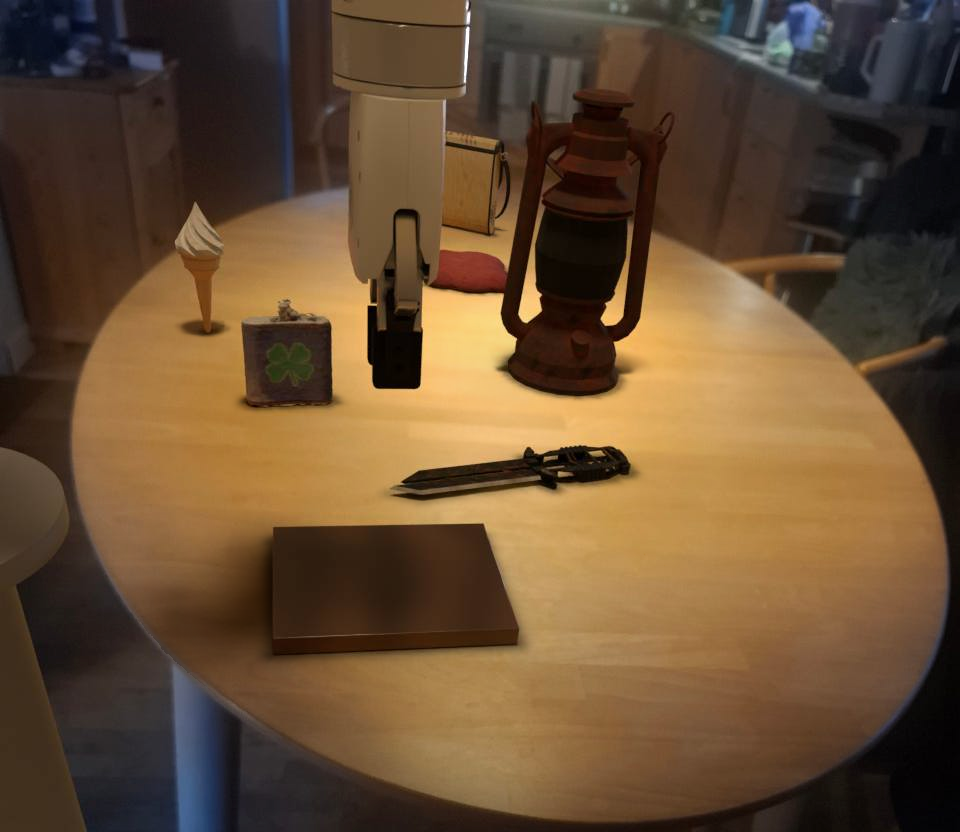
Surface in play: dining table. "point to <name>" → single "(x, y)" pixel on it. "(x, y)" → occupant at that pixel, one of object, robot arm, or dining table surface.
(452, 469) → the knife
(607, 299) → the lantern
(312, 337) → the flask
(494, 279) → the patty
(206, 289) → the ice cream cone
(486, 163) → the clutch purse
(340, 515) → the dining table surface
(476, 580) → the serving board
